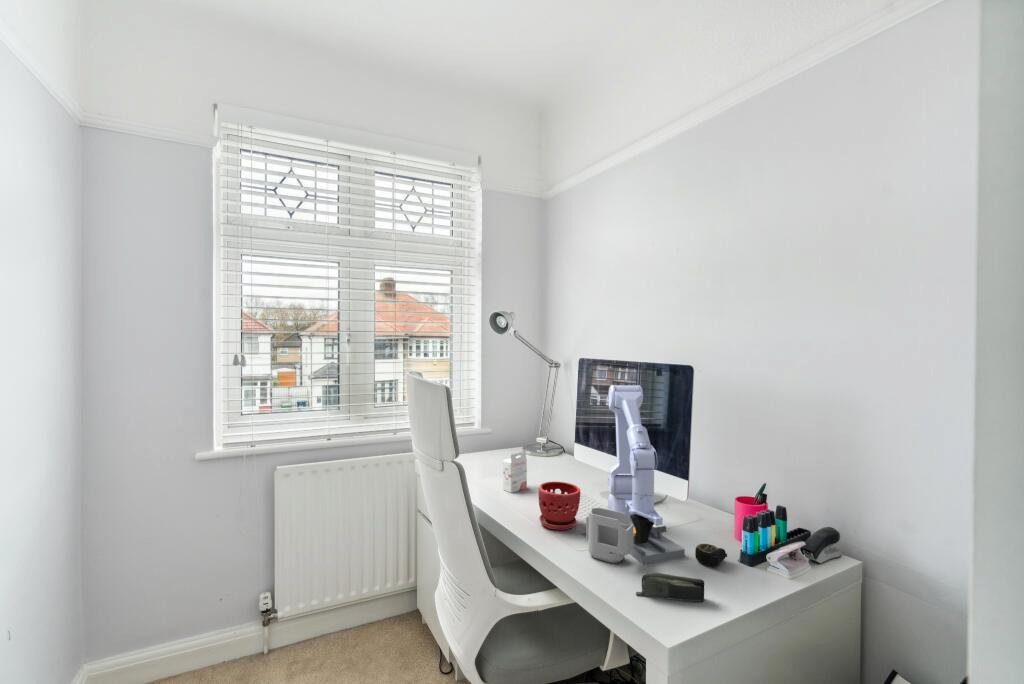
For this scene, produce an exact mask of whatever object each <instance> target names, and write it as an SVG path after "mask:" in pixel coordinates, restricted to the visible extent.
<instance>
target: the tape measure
mask: <svg viewBox="0 0 1024 684" xmlns="http://www.w3.org/2000/svg"><path fill="white" fill-rule="evenodd" d="M694 555H695V559H696V560H697V561H698V562H699V563H701V564H703V565H706V566H710V567H718V566H719V565H720V564H721V563H722V562H723V561H724V560H725V559H726V558H727V557H728V553H727V552H726V550H725V549H724V548H721V547H718V546H716V545H714V544H710V543H700V544H697V546H696V547H695V551H694Z"/></svg>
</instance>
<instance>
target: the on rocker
mask: <svg viewBox="0 0 1024 684" xmlns="http://www.w3.org/2000/svg"><path fill="white" fill-rule="evenodd" d="M650 532H652V533H667V532H668V531H667V525H666V526H665V524H664V525H661V526H655V525H653V527H652V529H651V531H650Z"/></svg>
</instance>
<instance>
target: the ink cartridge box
mask: <svg viewBox="0 0 1024 684" xmlns="http://www.w3.org/2000/svg"><path fill="white" fill-rule="evenodd" d="M527 461H528V460H527V451H520V452H515V453H512V454H510V458H507V459H503V460H502V481H503V482H502V483H503V485H502V488H503V489H502V490H503V491H505V492H508V493H512V494H513V493H515V492H516V493H517V492H519V491H522V490H525V489H527V488H528V487H527V486H528V483H527V482H528V481H527V480H528V477H527V475H528V474H527V472H528V467H527V465H528V463H527Z"/></svg>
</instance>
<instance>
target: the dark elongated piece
mask: <svg viewBox="0 0 1024 684" xmlns="http://www.w3.org/2000/svg"><path fill="white" fill-rule="evenodd" d="M635 596H642V597H652V598H659V599H666V600H674V601H681V602H688V603H696V604H697V603H703V602H704V601H705V581H704V580H703V579H701V578H695V577H687V576H681V575H680V576H679V575H673V574H669V573H664V572H663V573H662V572H651V573H650V572H648V573H644V574H643V575H642V578H641V591H636V592H635Z"/></svg>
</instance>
